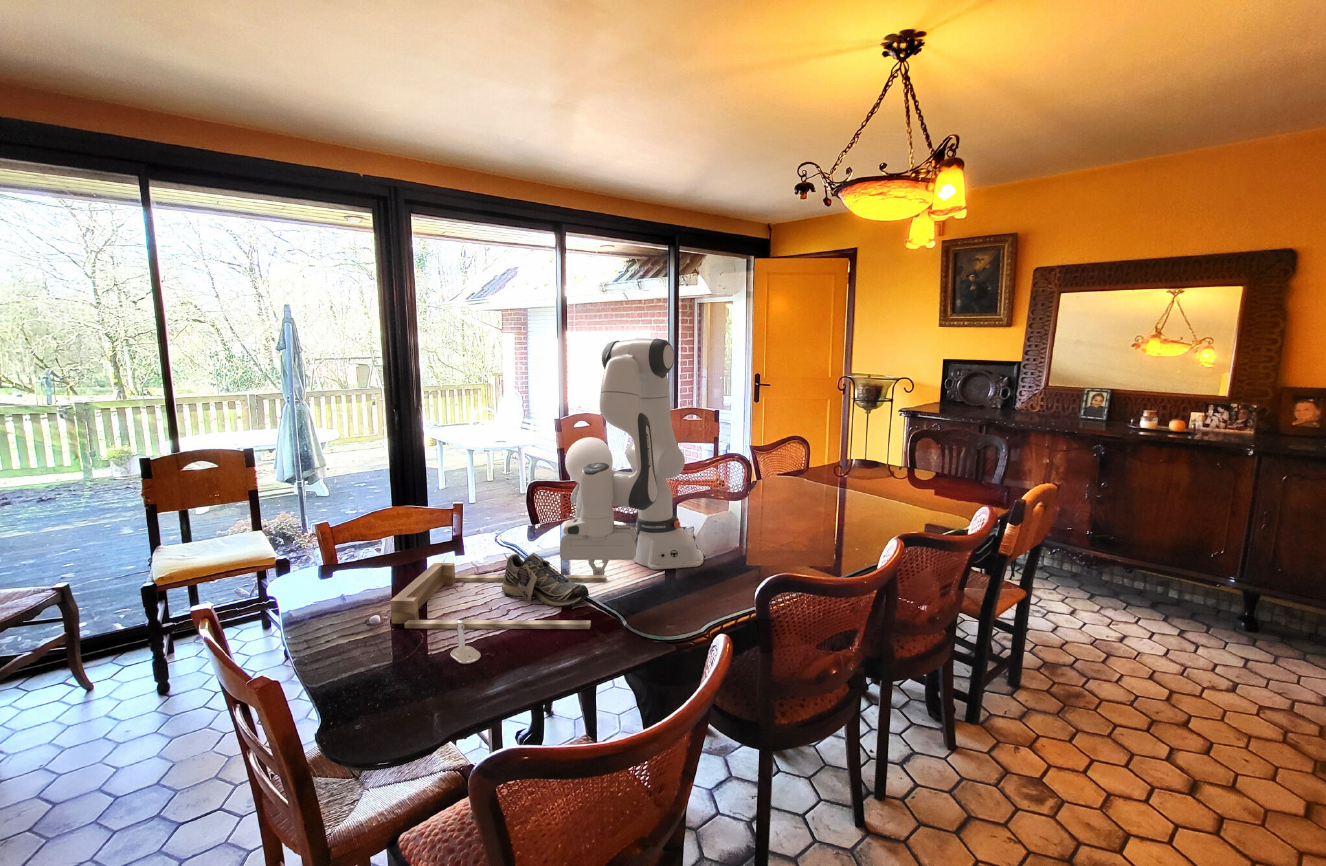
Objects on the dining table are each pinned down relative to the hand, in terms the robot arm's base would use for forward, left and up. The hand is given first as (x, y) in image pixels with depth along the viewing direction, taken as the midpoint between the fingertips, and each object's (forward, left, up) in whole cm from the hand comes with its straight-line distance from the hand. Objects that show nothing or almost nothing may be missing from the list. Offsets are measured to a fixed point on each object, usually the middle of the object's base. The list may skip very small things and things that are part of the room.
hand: (598, 574), depth 156 cm
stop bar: (+48, 0, -8) cm, 48 cm away
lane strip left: (+23, +14, -8) cm, 28 cm away
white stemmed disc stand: (+26, +28, -8) cm, 39 cm away
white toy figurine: (+13, -65, -8) cm, 67 cm away
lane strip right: (+23, -15, -8) cm, 29 cm away
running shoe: (+16, -3, -8) cm, 18 cm away
